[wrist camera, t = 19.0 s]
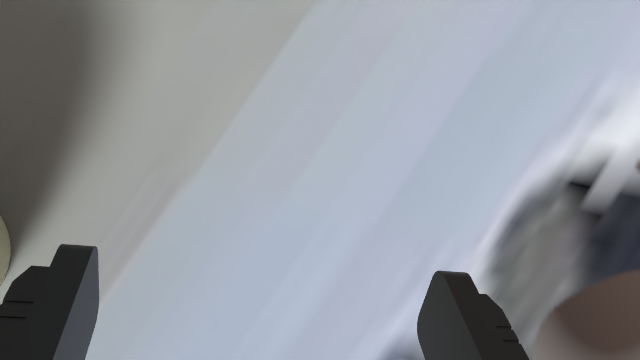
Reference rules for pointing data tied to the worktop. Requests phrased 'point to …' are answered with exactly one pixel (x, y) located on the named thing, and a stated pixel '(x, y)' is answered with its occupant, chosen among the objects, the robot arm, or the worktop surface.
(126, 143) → the worktop surface
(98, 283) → the robot arm
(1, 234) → the reusable coffee cup
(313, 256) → the worktop surface
